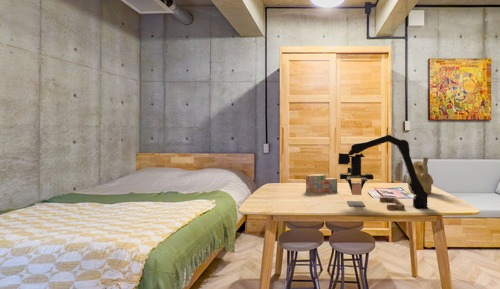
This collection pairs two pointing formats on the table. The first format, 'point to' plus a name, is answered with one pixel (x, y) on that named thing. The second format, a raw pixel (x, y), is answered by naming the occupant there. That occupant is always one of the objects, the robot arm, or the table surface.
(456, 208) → the table surface
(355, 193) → the terracotta blank
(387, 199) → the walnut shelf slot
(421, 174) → the ceramic vessel
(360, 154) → the robot arm
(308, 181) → the stack of blocks
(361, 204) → the charcoal mat
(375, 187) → the table surface
